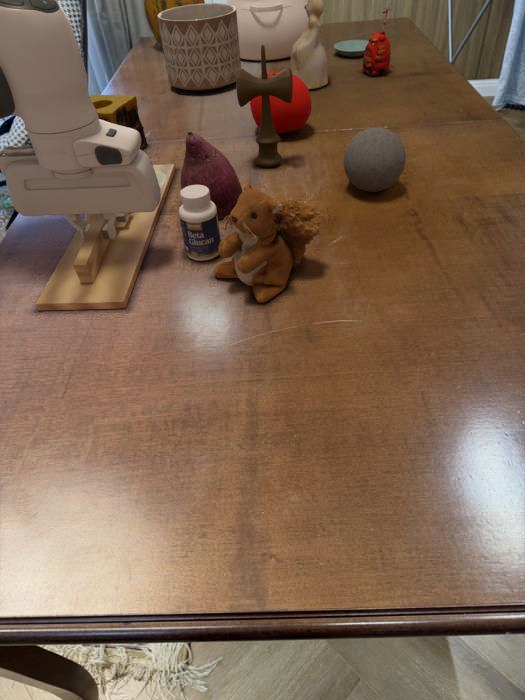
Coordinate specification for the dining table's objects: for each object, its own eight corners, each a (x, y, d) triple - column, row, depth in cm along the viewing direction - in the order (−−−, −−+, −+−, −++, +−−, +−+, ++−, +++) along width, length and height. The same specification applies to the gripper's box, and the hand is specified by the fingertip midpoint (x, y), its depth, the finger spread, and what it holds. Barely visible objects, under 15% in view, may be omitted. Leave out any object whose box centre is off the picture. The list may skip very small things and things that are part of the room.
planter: (255, 76, 137) (250, 4, 125) (218, 99, 125) (209, 22, 113) (195, 71, 144) (186, 2, 132) (155, 92, 132) (141, 18, 120)
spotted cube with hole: (148, 145, 106) (137, 95, 99) (125, 166, 100) (112, 113, 93) (106, 142, 109) (93, 93, 102) (81, 162, 102) (65, 110, 95)
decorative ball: (413, 191, 85) (423, 131, 78) (366, 208, 82) (371, 147, 75) (376, 170, 91) (381, 113, 84) (330, 185, 88) (332, 127, 81)
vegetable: (210, 243, 83) (183, 169, 70) (175, 213, 88) (144, 140, 75) (258, 207, 85) (240, 130, 73) (222, 181, 90) (199, 104, 78)
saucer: (381, 56, 143) (381, 47, 142) (342, 61, 142) (342, 52, 140) (364, 46, 152) (364, 37, 150) (327, 51, 150) (327, 43, 148)
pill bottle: (189, 265, 73) (178, 203, 66) (183, 246, 77) (171, 186, 70) (225, 257, 74) (217, 195, 67) (217, 239, 78) (209, 179, 71)
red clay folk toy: (356, 71, 134) (361, 4, 124) (379, 66, 136) (385, 0, 126) (372, 78, 129) (377, 9, 119) (395, 73, 131) (403, 5, 121)
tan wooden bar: (104, 282, 69) (97, 264, 67) (69, 283, 70) (61, 265, 67) (132, 206, 81) (126, 188, 79) (102, 207, 82) (95, 189, 79)
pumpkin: (141, 53, 161) (121, -45, 144) (171, 38, 174) (156, -54, 156) (191, 56, 155) (177, -46, 138) (219, 40, 168) (209, -56, 150)
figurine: (286, 78, 134) (284, -14, 120) (325, 75, 134) (327, -17, 120) (289, 92, 125) (287, -5, 112) (331, 89, 125) (334, -8, 111)
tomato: (295, 115, 114) (294, 59, 106) (319, 137, 104) (320, 76, 96) (243, 125, 111) (238, 68, 103) (263, 148, 102) (259, 86, 94)
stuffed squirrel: (208, 277, 71) (194, 189, 62) (286, 240, 76) (283, 155, 67) (250, 311, 65) (241, 220, 56) (331, 269, 70) (335, 179, 61)
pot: (228, 42, 165) (222, -19, 153) (309, 37, 164) (309, -26, 152) (222, 68, 144) (215, -1, 133) (315, 61, 143) (315, -8, 132)
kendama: (245, 157, 99) (235, 41, 85) (294, 156, 98) (292, 38, 84) (242, 171, 95) (231, 51, 81) (293, 169, 94) (291, 47, 80)
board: (38, 310, 68) (35, 303, 67) (114, 172, 98) (113, 166, 97) (125, 308, 67) (123, 301, 66) (175, 169, 97) (174, 163, 96)
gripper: (-19, 157, 63) (23, 251, 73) (141, 150, 62) (163, 247, 71) (1, 137, 68) (39, 228, 77) (151, 130, 66) (170, 224, 76)
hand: (100, 237), depth 74 cm, fingers closed on tan wooden bar, 2 cm apart
